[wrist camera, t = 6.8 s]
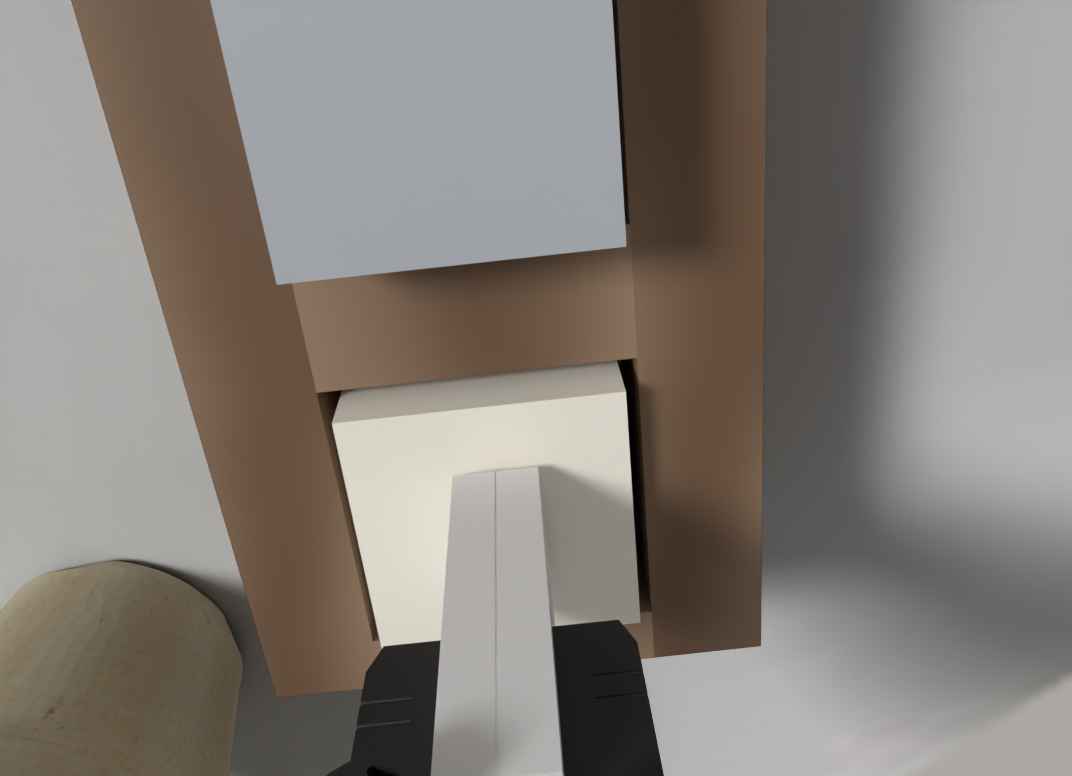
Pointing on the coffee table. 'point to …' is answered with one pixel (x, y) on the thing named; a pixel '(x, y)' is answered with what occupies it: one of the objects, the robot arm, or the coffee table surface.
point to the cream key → (484, 446)
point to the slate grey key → (426, 130)
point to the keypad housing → (465, 325)
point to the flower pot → (116, 676)
